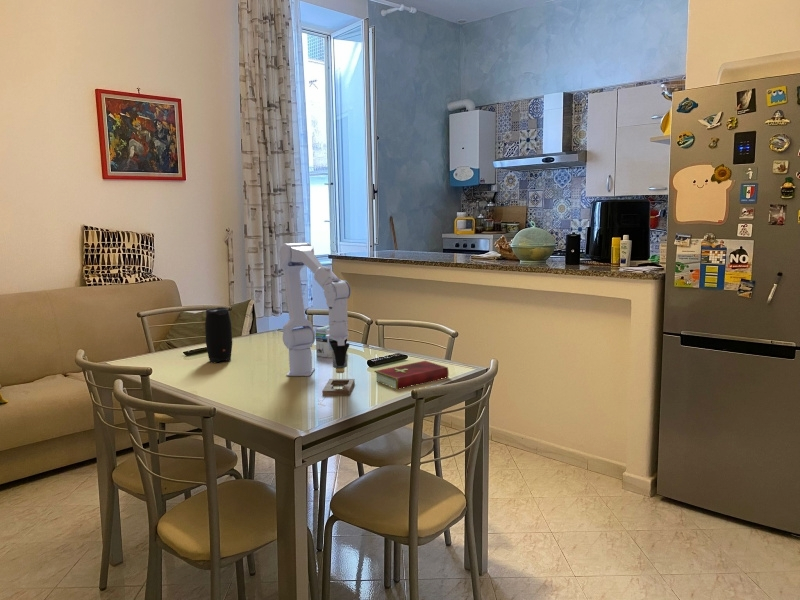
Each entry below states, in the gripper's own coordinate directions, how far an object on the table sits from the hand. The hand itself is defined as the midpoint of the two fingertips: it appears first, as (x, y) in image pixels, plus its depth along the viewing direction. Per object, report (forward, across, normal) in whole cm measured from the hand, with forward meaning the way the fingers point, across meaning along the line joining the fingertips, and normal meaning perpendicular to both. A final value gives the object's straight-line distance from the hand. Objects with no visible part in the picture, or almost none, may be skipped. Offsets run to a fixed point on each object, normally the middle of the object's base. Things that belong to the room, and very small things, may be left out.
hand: (339, 363), depth 187 cm
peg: (+3, 0, 0) cm, 3 cm away
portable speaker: (+8, -46, -40) cm, 61 cm away
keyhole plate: (+8, +2, -1) cm, 8 cm away
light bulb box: (+8, -46, +1) cm, 46 cm away
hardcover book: (+8, -3, +24) cm, 25 cm away
